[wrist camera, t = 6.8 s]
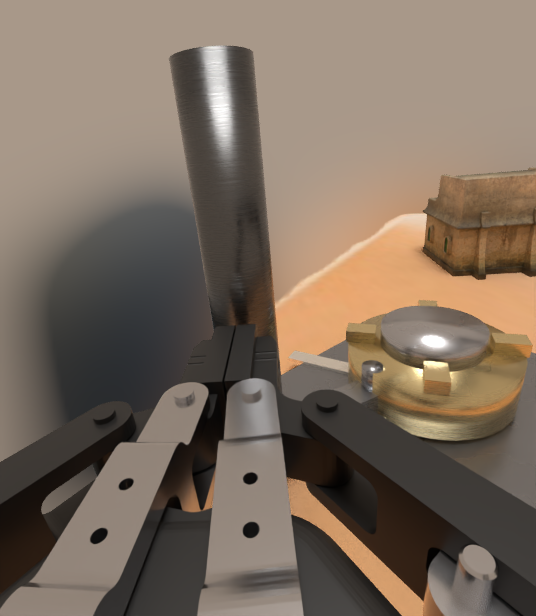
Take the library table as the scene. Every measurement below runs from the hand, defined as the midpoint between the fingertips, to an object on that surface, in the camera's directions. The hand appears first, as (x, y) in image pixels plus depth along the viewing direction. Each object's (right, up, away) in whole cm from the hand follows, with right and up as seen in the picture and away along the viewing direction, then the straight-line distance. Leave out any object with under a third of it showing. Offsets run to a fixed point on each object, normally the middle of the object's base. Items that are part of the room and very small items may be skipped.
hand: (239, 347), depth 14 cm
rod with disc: (+8, -5, +9) cm, 13 cm away
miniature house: (+31, +8, +37) cm, 49 cm away
